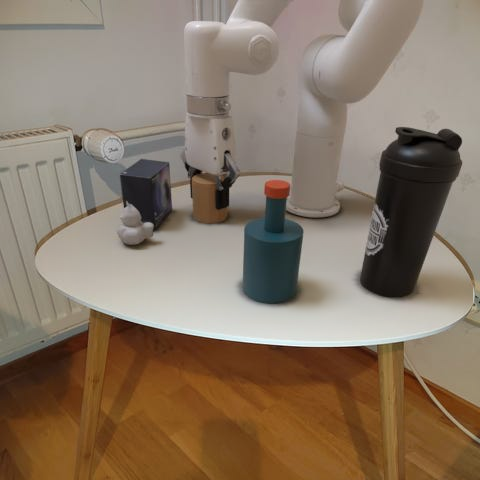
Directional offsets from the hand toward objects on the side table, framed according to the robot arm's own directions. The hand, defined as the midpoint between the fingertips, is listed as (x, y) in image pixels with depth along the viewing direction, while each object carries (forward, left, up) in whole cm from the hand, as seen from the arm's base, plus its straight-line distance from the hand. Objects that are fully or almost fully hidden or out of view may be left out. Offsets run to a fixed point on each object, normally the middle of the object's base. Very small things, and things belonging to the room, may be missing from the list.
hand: (209, 201), depth 85 cm
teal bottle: (+12, +27, -3) cm, 30 cm away
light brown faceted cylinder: (0, 0, -3) cm, 3 cm away
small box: (+10, -7, -3) cm, 13 cm away
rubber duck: (+18, 0, -3) cm, 18 cm away
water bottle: (-3, +39, -3) cm, 39 cm away
